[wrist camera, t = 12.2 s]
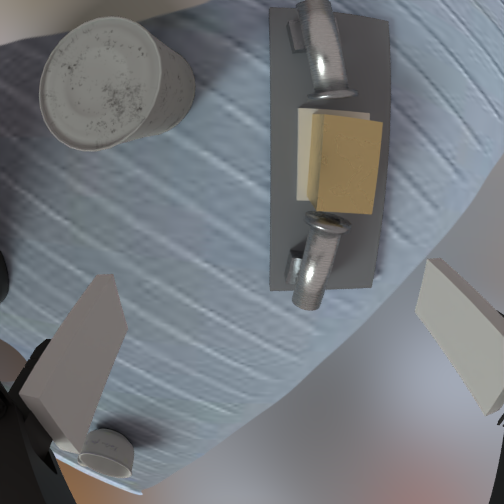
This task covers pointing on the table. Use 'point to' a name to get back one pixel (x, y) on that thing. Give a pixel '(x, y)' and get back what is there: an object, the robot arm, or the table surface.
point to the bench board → (286, 143)
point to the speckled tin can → (113, 85)
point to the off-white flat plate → (305, 143)
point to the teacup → (107, 453)
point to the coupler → (343, 163)
